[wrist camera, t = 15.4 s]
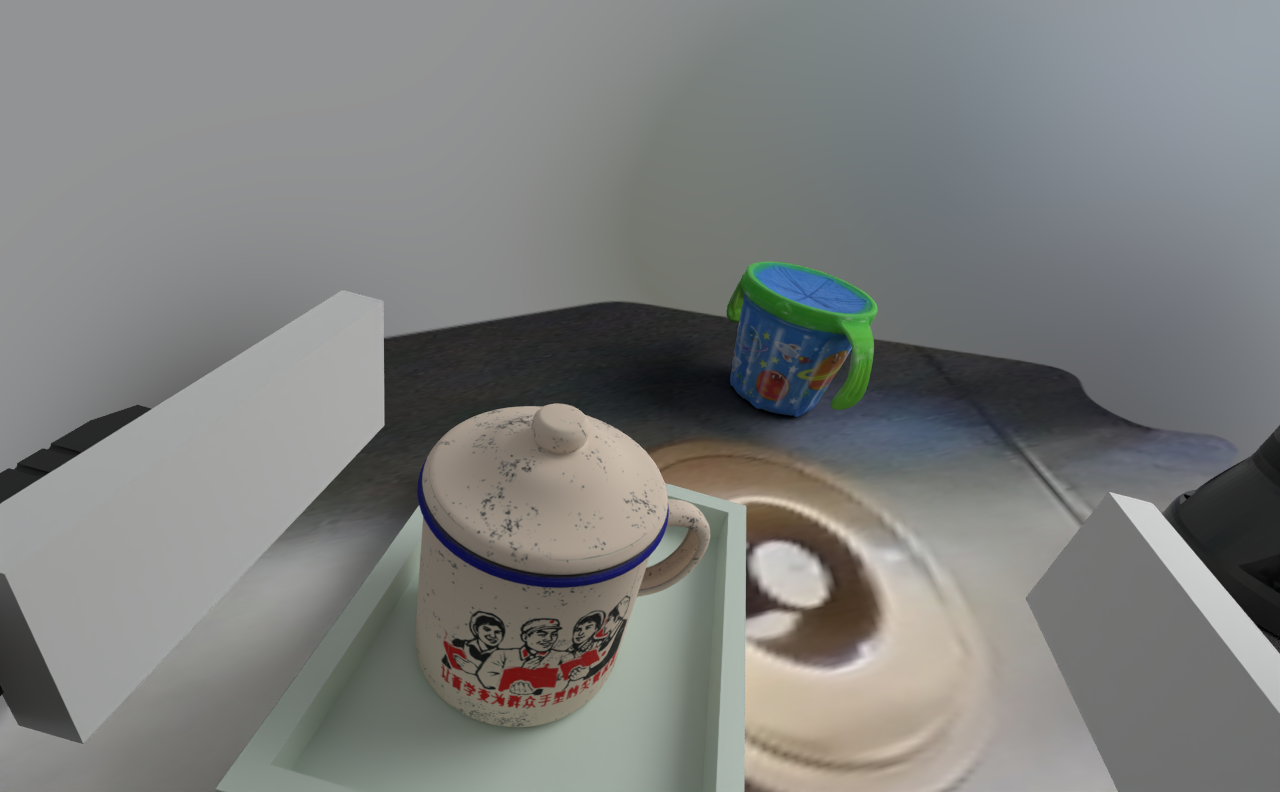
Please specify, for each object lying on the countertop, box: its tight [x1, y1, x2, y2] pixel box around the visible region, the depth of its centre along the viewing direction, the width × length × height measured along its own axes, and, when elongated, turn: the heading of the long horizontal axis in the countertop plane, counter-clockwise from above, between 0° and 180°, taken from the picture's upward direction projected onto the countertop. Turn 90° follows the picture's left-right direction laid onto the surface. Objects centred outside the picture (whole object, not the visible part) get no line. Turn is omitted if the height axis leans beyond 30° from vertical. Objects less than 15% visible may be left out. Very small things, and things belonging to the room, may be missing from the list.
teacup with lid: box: [415, 404, 710, 727], centre depth 25 cm, size 12×9×12 cm
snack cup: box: [727, 262, 877, 417], centre depth 52 cm, size 16×10×10 cm
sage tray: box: [215, 483, 746, 792], centre depth 28 cm, size 16×20×3 cm
